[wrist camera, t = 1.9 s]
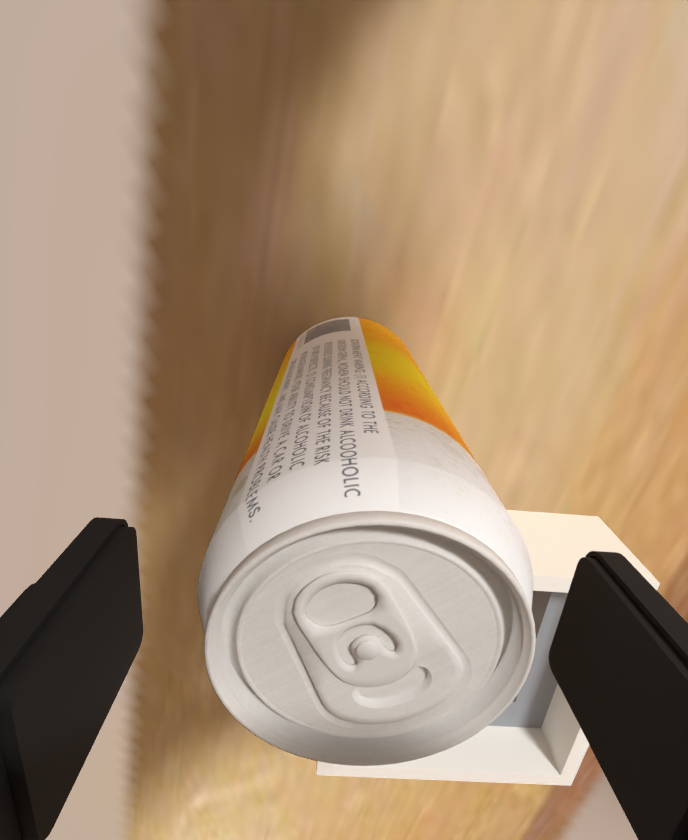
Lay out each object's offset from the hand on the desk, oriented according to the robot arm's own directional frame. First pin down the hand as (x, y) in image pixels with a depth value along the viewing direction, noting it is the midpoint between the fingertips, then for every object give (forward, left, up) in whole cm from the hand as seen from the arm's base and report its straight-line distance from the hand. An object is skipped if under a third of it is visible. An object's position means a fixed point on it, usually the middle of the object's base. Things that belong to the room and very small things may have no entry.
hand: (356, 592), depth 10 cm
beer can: (-1, 0, -13) cm, 13 cm away
